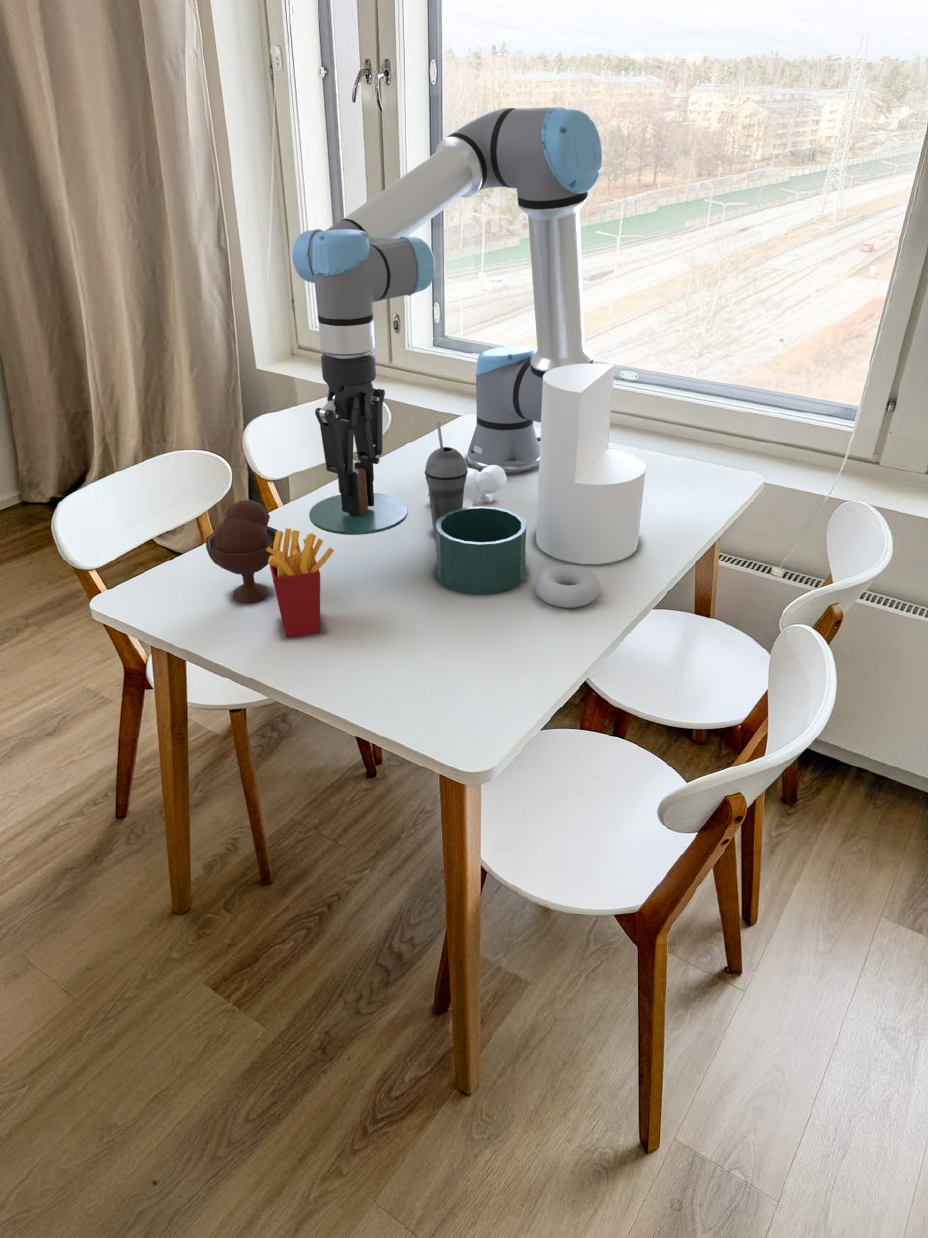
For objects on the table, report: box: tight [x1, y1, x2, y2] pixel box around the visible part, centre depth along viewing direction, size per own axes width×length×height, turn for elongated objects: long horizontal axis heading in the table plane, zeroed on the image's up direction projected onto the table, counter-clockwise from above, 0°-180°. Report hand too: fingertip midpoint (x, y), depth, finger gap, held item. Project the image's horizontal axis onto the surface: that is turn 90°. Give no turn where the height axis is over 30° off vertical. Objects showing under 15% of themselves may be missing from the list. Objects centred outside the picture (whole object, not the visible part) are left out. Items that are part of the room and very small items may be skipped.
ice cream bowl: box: [205, 499, 279, 604], centre depth 131 cm, size 11×11×15 cm
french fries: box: [266, 527, 335, 638], centre depth 123 cm, size 9×8×15 cm
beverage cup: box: [424, 421, 468, 537], centre depth 148 cm, size 7×7×20 cm
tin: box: [435, 505, 527, 595], centre depth 138 cm, size 14×14×8 cm
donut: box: [533, 564, 601, 609], centre depth 133 cm, size 10×4×10 cm
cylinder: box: [535, 363, 647, 565], centre depth 143 cm, size 17×17×28 cm
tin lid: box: [308, 467, 409, 536], centre depth 132 cm, size 15×15×8 cm
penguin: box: [426, 465, 507, 508], centre depth 161 cm, size 9×8×15 cm
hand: (358, 507), depth 134 cm, fingers closed on tin lid, 3 cm apart
